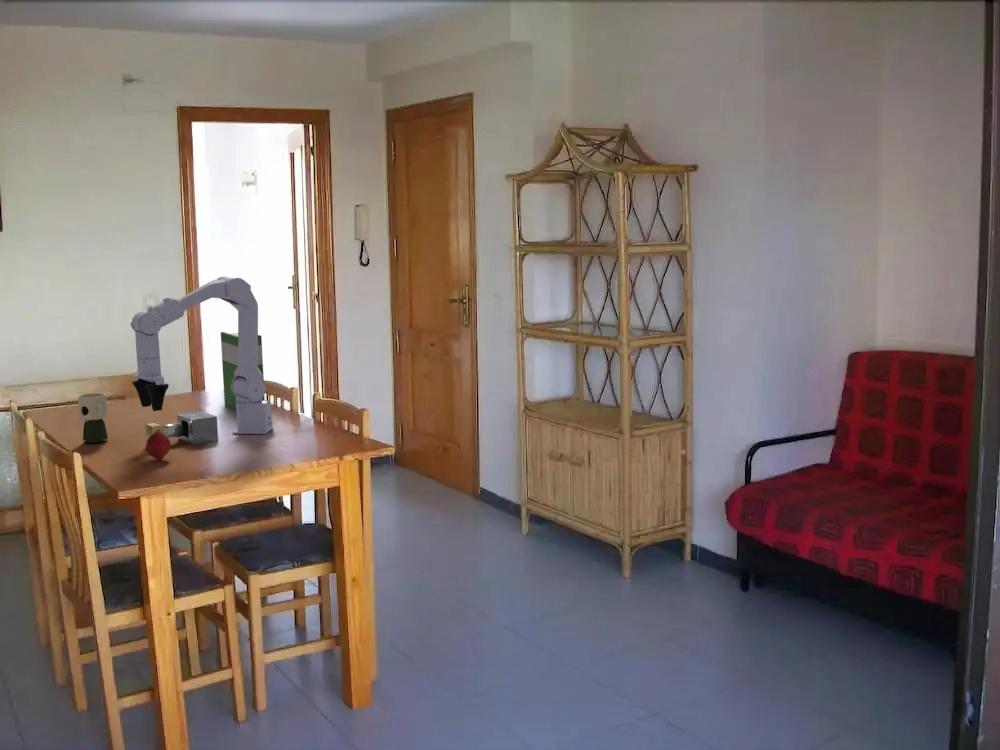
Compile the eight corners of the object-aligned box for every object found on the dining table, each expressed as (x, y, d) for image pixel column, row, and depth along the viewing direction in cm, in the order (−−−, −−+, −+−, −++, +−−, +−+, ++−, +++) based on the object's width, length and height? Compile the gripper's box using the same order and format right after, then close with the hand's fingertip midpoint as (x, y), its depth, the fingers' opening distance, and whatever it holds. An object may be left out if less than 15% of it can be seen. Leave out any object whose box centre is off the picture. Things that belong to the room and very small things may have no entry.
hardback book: (224, 405, 318) (220, 332, 314) (247, 402, 322) (243, 330, 318) (242, 414, 303) (237, 337, 299) (265, 411, 307) (261, 335, 303)
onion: (157, 464, 241) (155, 432, 240) (142, 461, 244) (139, 430, 243) (176, 459, 246) (174, 428, 245) (161, 456, 249) (159, 425, 248)
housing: (202, 435, 274) (201, 411, 273) (218, 440, 266) (216, 416, 265) (178, 438, 269) (176, 414, 268) (193, 444, 262) (192, 420, 261)
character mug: (75, 440, 268) (71, 394, 266) (101, 436, 273) (97, 391, 271) (90, 447, 260) (86, 399, 258) (116, 443, 265) (113, 395, 263)
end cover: (177, 436, 266) (176, 419, 266) (184, 439, 263) (183, 422, 262) (146, 441, 261) (145, 423, 260) (153, 444, 257) (152, 426, 257)
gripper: (123, 356, 259) (126, 406, 261) (143, 361, 248) (147, 414, 250) (149, 353, 264) (152, 403, 266) (170, 359, 253) (174, 410, 255)
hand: (151, 408), depth 258 cm, fingers open, 7 cm apart
